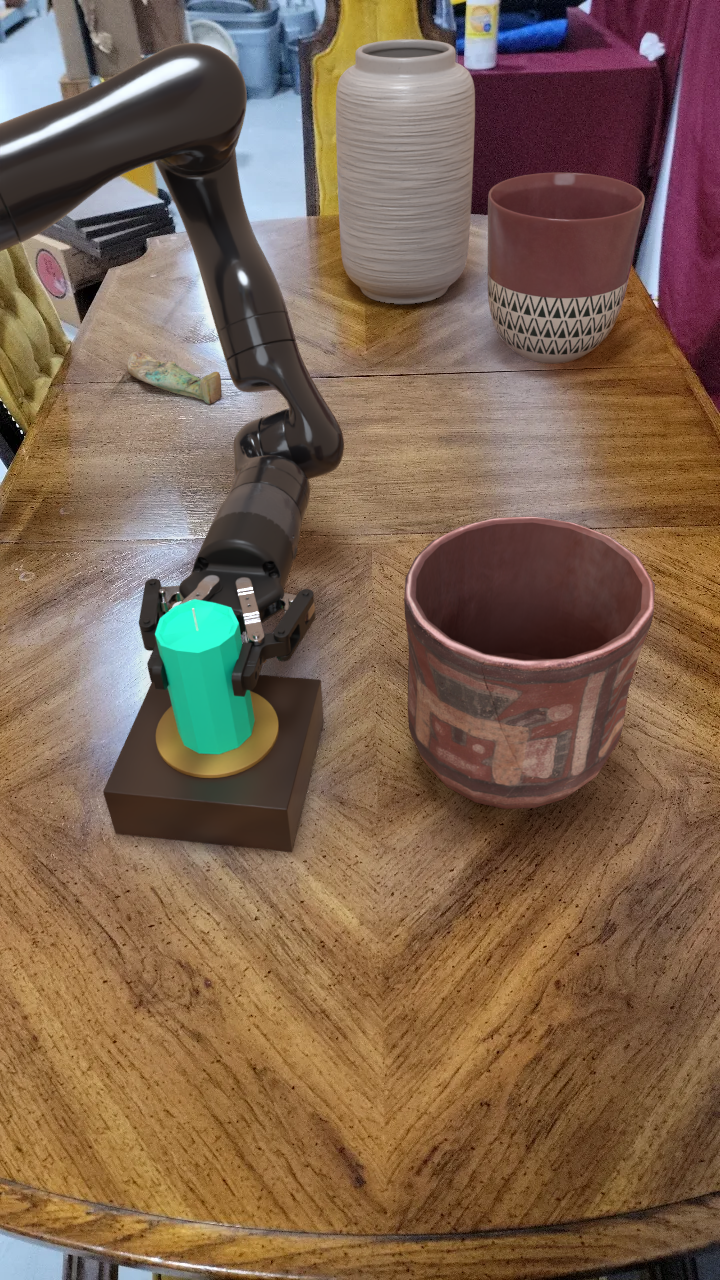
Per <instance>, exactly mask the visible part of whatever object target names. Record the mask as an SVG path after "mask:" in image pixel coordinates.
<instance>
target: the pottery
mask: <svg viewBox="0 0 720 1280" xmlns="http://www.w3.org/2000/svg"><path fill="white" fill-rule="evenodd" d="M404 579H405V580H404V594H403V595H404V597H403V604H404V619H405V627H406V633H407V635H406V636H407V644H408V645H407V647H408V661H407V662H408V663H407V664H408V665H407V667H408V669H407V670H408V671H407V674H408V675H407V719H408V720H407V722H408V730H409V733H410V735H411V739H412V740H413V742H414V745H415V747H416V749H417V751H418V754H419V755H420V758H421V759H422V760H423V762H424V763H425V765H426V766H427V767H428V768H429V769H430V770H431V772H432V773H433V774H434V775H435V776H436V778H438V779H439V780H440V781H441V782H442V783H443V784H444V785H445V787H446V788H448V789H449V790H452V791H453V792H455V793H457V794H459V795H460V796H463V797H464V798H466V799H468V800H470V801H472V802H474V803H475V804H481V805H485V806H489V807H494V808H499V809H503V810H506V809H507V810H508V809H511V810H513V809H536V808H539V807H543V806H546V805H549V804H553V803H556V802H560V801H561V800H565V799H566V798H568V797H569V796H571V795H572V794H574V793H575V792H576V791H578V790H580V789H581V788H583V787H584V786H585V785H587V784H588V783H589V782H591V781H592V780H593V779H595V778H596V777H597V776H598V774H600V771H601V770H602V769H603V767H604V765H605V764H606V763H607V761H608V760H609V758H610V756H611V755H612V753H613V752H614V750H615V749H616V748H617V746H618V744H619V742H620V739H621V736H622V733H623V727H624V721H625V715H626V709H627V703H628V697H629V690H630V687H631V684H632V680H633V676H634V673H635V670H636V666H637V663H638V659H639V656H640V654H641V652H642V649H643V646H644V644H645V641H646V639H647V637H648V634H649V631H650V629H651V627H652V623H653V622H652V621H653V617H654V613H655V597H656V596H655V593H656V584H655V582H654V581H653V578H652V577H651V576H650V574H649V572H648V571H647V569H646V567H645V566H644V564H643V562H642V560H641V559H640V557H639V556H637V555H636V554H635V553H634V552H632V551H631V550H630V549H628V548H627V547H625V546H624V545H623V544H621V543H620V542H619V541H618V540H616V539H615V538H613V537H612V536H610V535H607V534H605V533H603V532H599V531H597V530H594V529H592V528H589V527H586V526H584V525H581V524H578V523H575V522H572V521H571V522H570V521H565V520H558V519H552V518H546V517H540V516H534V515H532V516H531V515H528V516H513V517H512V516H510V517H507V516H506V517H493V518H488V519H485V520H481V521H480V520H479V521H476V522H471V523H468V524H464V525H460V526H458V527H456V528H454V529H452V530H450V531H449V532H446V533H445V534H443V535H441V536H439V537H437V538H435V539H433V540H431V541H430V542H429V544H427V546H425V548H423V549H422V550H421V551H420V552H419V553H418V554H417V555H416V556H415V557H414V559H413V561H412V563H411V565H410V567H409V570H408V572H407V574H406V575H405V578H404Z"/></svg>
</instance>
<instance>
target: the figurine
mask: <svg viewBox="0 0 720 1280" xmlns="http://www.w3.org/2000/svg"><path fill="white" fill-rule="evenodd" d="M126 371H127V373H128V374H129V375H131V376H132V377H134V378H135V379H137V380H139V381H141V382H144V383H146V384H148V385H151V386H152V387H153V386H154V387H155V388H157V389H161V390H164V391H167V392H169V393H173V394H178V395H182V396H185V397H191V398H196V399H197V400H198V399H199V400H202V401H204V403H206V404H209V405H210V404H213V403H215V402H217V401H219V400H220V399H222V396H223V395H222V393H223V392H222V378H221V374H220V372H219V371H213V372H211V373H208V374H206V375H204V377H202V378H199V377H198V376H195V375H194V374H191V373H190V372H189V371H187V370H185V369H184V368H182V367H181V366H179V365H178V364H177V363H176V361H174V360H169V361H168V362H167V361H166V362H165V361H162V360H158V359H154V358H153V357H152V356H151V355H149V354H148V353H145V352H144V351H141V350H135V351H133V352H131V353H130V354H129V356H128V358H127V361H126Z"/></svg>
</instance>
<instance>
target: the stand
mask: <svg viewBox="0 0 720 1280" xmlns="http://www.w3.org/2000/svg"><path fill="white" fill-rule="evenodd" d="M322 690H323V689H322V680H321V679H319V678H318V679H317V678H307V677H294V676H282V675H281V676H280V675H269V674H260V675H259V678H258V681H257V684H256V686H255V687H254V688H253V690H250V694H251V700H252V707H253V713H254V719H255V722H254V726H253V730H252V734H251V736H250V737H249V738H248V739H247V740H246V741H245V742H244V743H243V744H241V745H240V746H239V747H238V748H236V749H233V750H230V751H227V752H224V753H222V754H199V753H197V752H195V751H194V750H192V749H190V748H188V747H186V746H185V745H184V744H183V741H182V739H181V737H180V735H179V732H178V728H177V724H176V720H175V716H174V712H173V708H172V703H171V699H170V695H169V691H168V687H167V689H166V690H159V689H155V685H154V682H150V685H149V687H148V689H147V692H146V694H145V695H144V698H143V701H142V702H141V705H140V707H139V710H138V712H137V715H135V716H136V717H135V719H134V721H133V723H132V725H131V728H130V730H129V732H128V734H127V737H126V739H125V741H124V743H123V746H122V748H121V750H120V753H119V755H118V757H117V759H116V762H115V763H114V766H113V768H112V771H111V773H110V775H109V776H108V780H107V782H106V783H105V786H104V788H103V791H102V793H103V796H104V800H105V803H106V806H107V810H108V813H109V817H110V820H111V824H112V826H113V829H114V833H115V834H116V835H126V836H134V837H145V838H153V839H165V840H172V841H173V840H174V841H182V842H190V843H191V842H193V843H203V844H212V845H220V846H221V845H222V846H230V847H239V848H240V847H241V848H248V849H257V850H258V849H259V850H269V851H277V852H285V853H292V852H293V849H294V846H295V841H296V836H297V832H298V829H299V824H300V821H301V817H302V812H303V808H304V805H305V804H304V803H305V800H306V796H307V792H308V788H309V783H310V779H311V775H312V771H313V768H314V767H313V766H314V763H315V759H316V755H317V751H318V746H319V743H320V738H321V734H322V730H323V726H324V722H325V721H324V708H323V706H324V705H323V694H322V693H323V692H322Z"/></svg>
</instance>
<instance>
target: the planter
mask: <svg viewBox="0 0 720 1280" xmlns="http://www.w3.org/2000/svg"><path fill="white" fill-rule="evenodd" d="M487 196H488V197H487V301H488V308H489V312H490V313H489V314H490V316H491V320H492V324H493V327H494V329H495V330H496V332H497V334H498V336H499V337H500V338H501V340H502V342H504V343H505V345H506V346H507V347H508V348H509V349H510V350H512V351H513V352H514V353H516V354H517V355H518V356H520V357H522V358H523V359H526V360H529V361H532V362H535V363H539V364H544V365H545V364H546V365H547V364H548V365H558V364H565V363H569V362H573V361H576V360H578V359H580V358H582V357H584V356H586V355H588V354H589V353H590V352H592V351H594V350H595V349H596V348H597V347H598V346H599V345H601V343H602V342H603V341H605V339H607V337H608V335H609V334H610V333H611V331H612V330H613V328H614V327H615V324H616V322H617V320H618V318H619V315H620V312H621V310H622V307H623V304H624V300H625V296H626V292H627V287H628V284H629V278H630V274H631V269H632V265H633V260H634V254H635V250H636V244H637V240H638V235H639V231H640V228H641V227H640V226H641V222H642V217H643V212H644V206H645V201H646V198H645V195H644V193H643V191H641V190H640V189H639V187H637V186H635V185H632V184H630V183H628V182H625V181H623V180H620V179H617V178H613V177H609V176H604V175H597V174H591V173H584V172H583V173H582V172H541V173H533V174H525V175H520V176H516V177H511V178H508V179H506V180H503V181H500V182H498V183H497V184H495V185H494V186H492V187H491V188H490V190H489V191H488V195H487Z"/></svg>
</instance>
